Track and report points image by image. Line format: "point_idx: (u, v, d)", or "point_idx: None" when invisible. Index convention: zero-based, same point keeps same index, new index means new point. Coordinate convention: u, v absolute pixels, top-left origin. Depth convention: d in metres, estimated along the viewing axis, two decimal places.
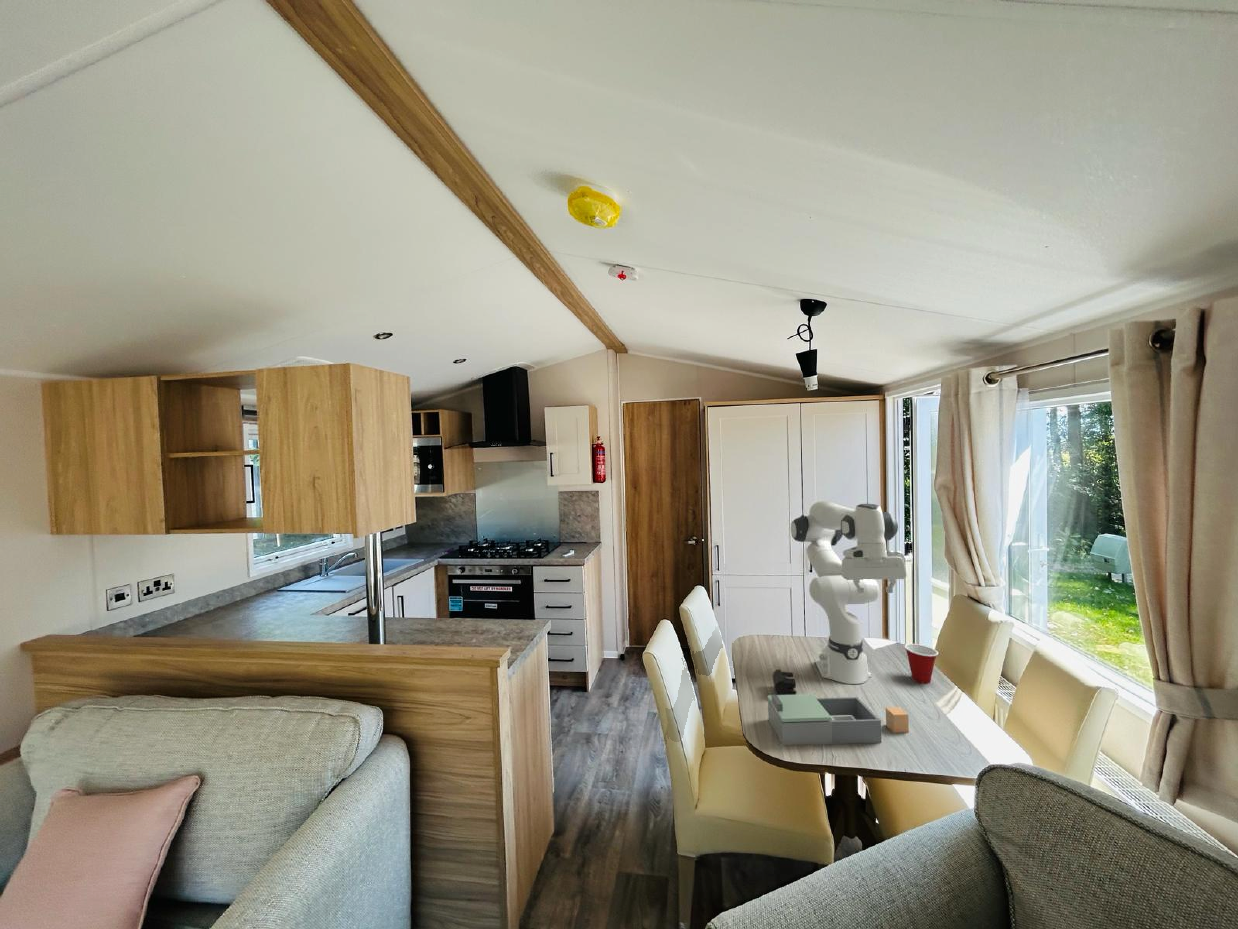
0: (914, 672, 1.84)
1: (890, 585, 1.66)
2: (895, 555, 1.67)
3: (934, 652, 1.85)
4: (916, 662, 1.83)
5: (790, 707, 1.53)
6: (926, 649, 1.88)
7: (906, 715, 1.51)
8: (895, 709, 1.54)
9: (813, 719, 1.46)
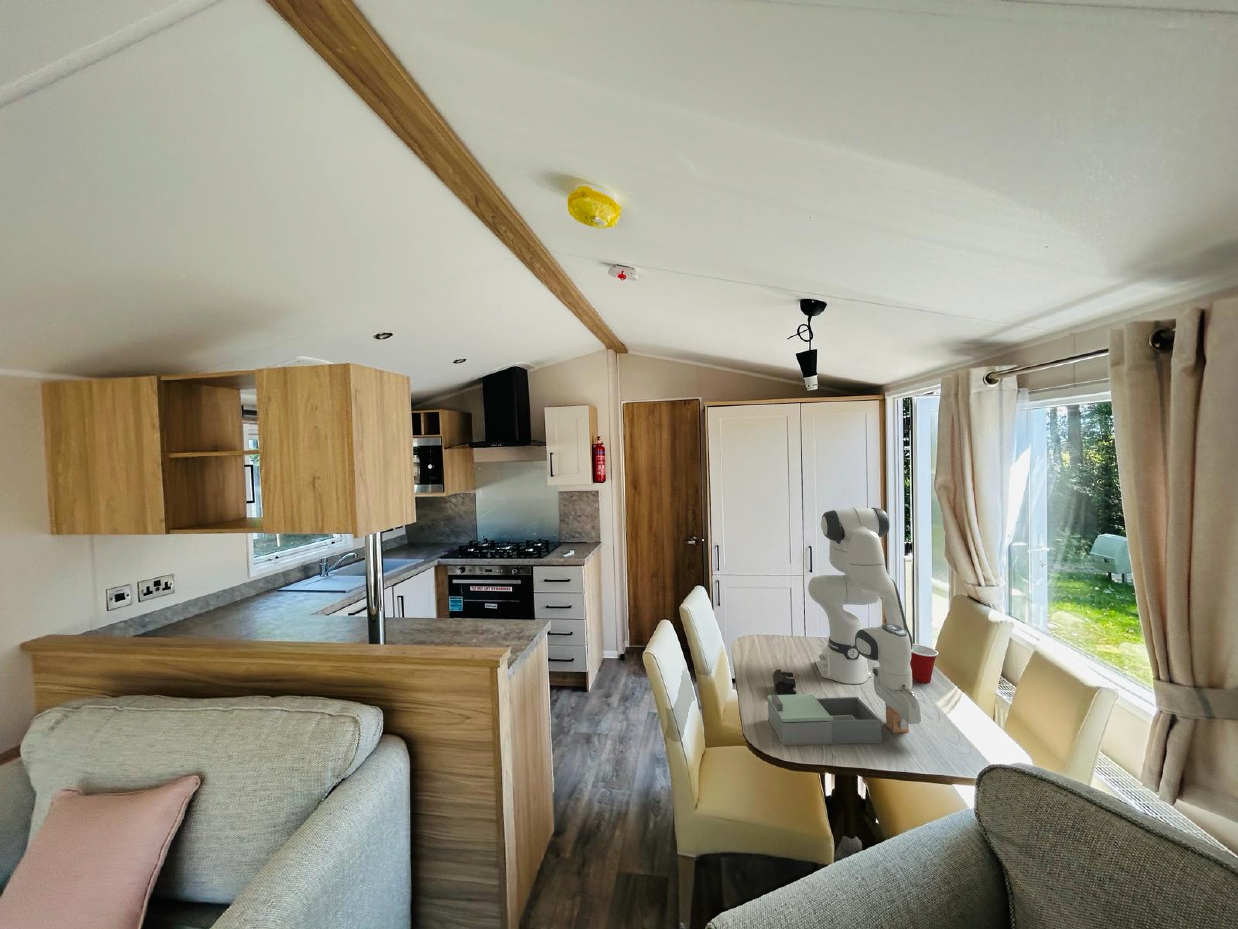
0: (914, 672, 1.84)
1: None
2: (908, 694, 1.46)
3: (934, 652, 1.85)
4: (916, 662, 1.83)
5: (790, 707, 1.53)
6: (926, 649, 1.88)
7: None
8: None
9: (813, 719, 1.46)
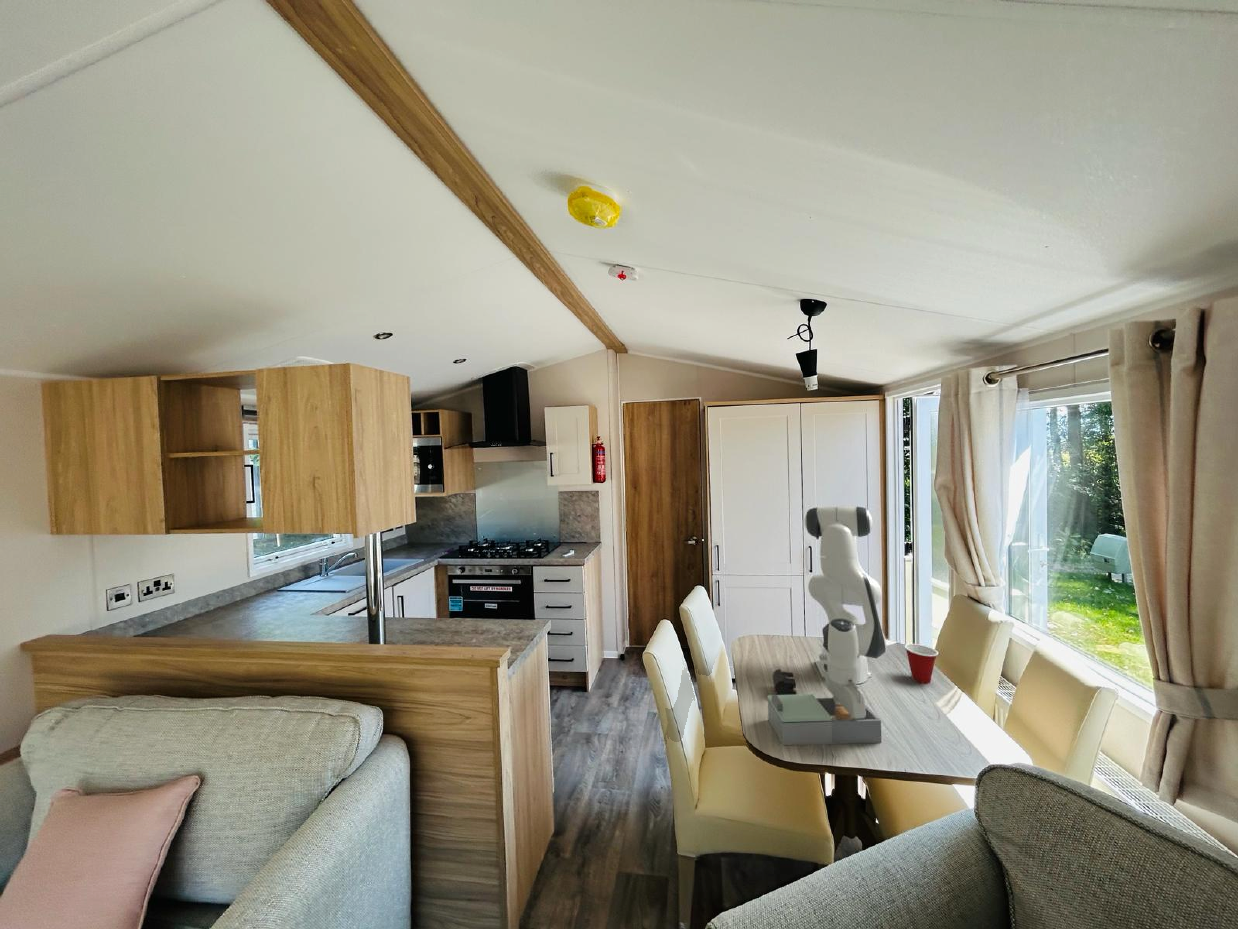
0: (914, 672, 1.84)
1: None
2: (854, 689, 1.46)
3: (934, 652, 1.85)
4: (916, 662, 1.83)
5: (790, 707, 1.53)
6: (926, 649, 1.88)
7: None
8: (844, 708, 1.54)
9: (813, 719, 1.46)
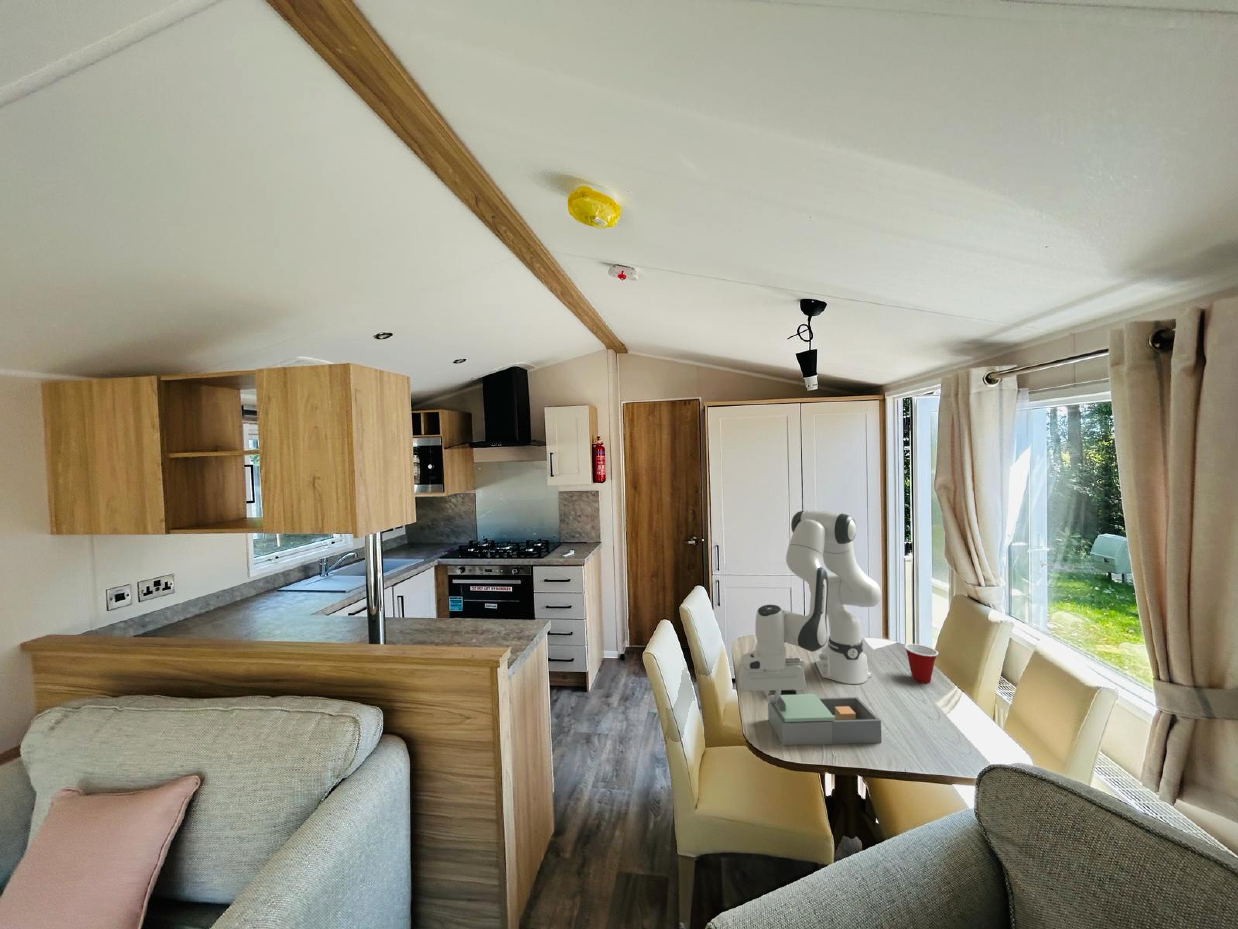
0: (914, 672, 1.84)
1: (775, 695, 1.54)
2: (795, 663, 1.53)
3: (934, 652, 1.85)
4: (916, 662, 1.83)
5: (793, 707, 1.53)
6: (926, 649, 1.88)
7: (853, 714, 1.51)
8: (844, 708, 1.54)
9: (816, 719, 1.46)
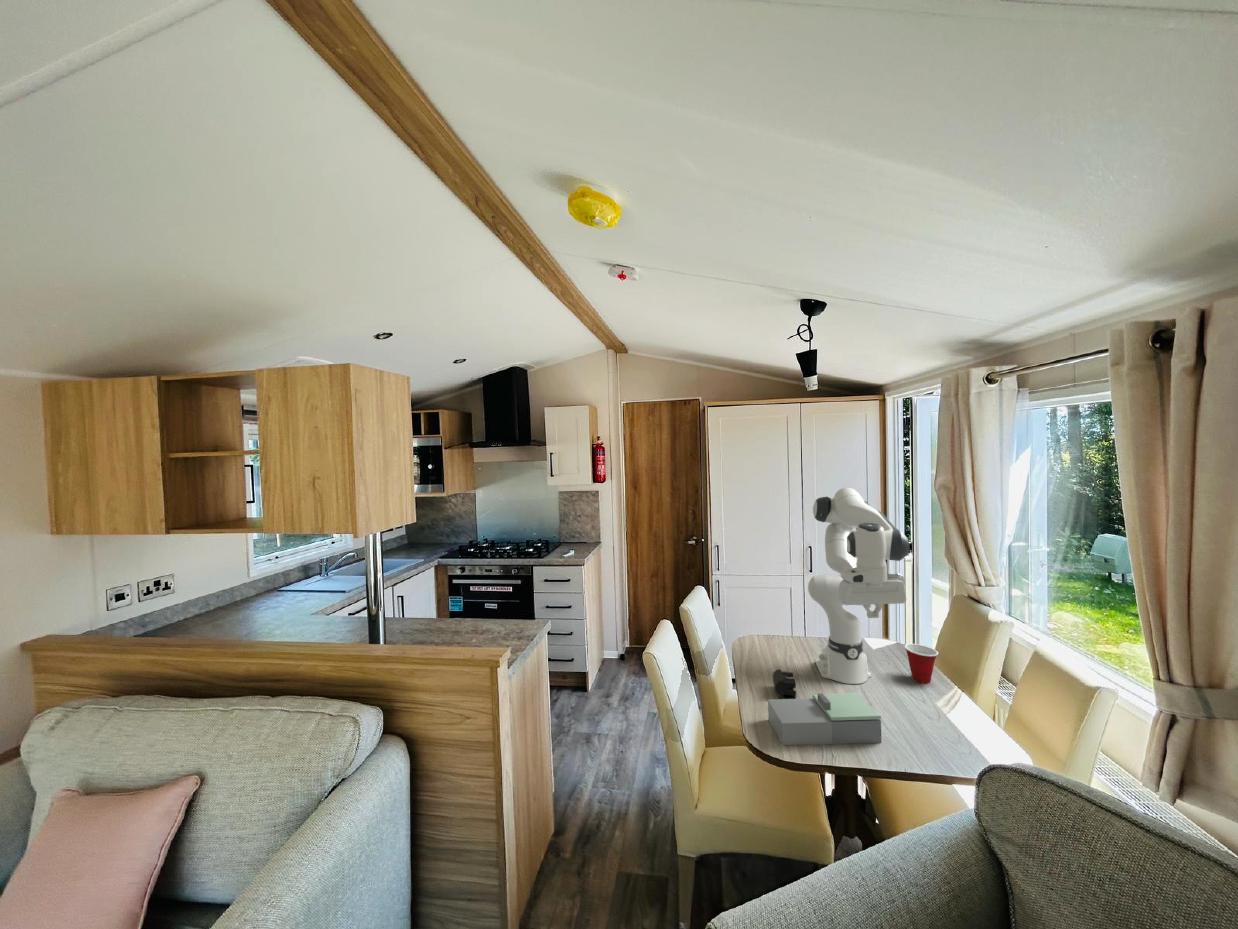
0: (914, 672, 1.84)
1: (876, 610, 1.58)
2: (895, 578, 1.58)
3: (934, 652, 1.85)
4: (916, 662, 1.83)
5: (837, 706, 1.53)
6: (926, 649, 1.88)
7: None
8: None
9: (862, 718, 1.46)
